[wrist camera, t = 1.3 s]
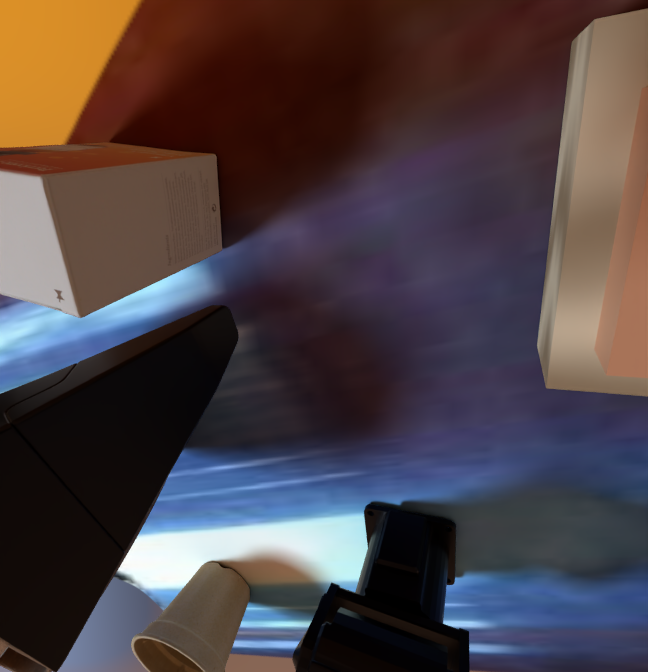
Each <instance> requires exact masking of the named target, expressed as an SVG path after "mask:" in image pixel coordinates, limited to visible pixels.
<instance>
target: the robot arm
mask: <svg viewBox="0 0 648 672" xmlns="http://www.w3.org/2000/svg"><path fill="white" fill-rule="evenodd" d="M237 342H238V330H237V328H236V325H235V322H234V320H233V317H232V314H231V311H230V309H229V308H228V307H226V306H223V305H212V306H209V307H207V308H204V309H202V310H200V311H197V312H195V313H193V314H190V315H188V316H186V317H183V318H181V319H178V320H176V321H174V322H171V323H169V324H167V325H164V326H162V327H160V328H157V329H155V330H153V331H150V332H148V333H146V334H143V335H141V336H139V337H136V338H134V339H132V340H129V341H127V342H125V343H122V344H120V345H118V346H115V347H113V348H110V349H108V350H106V351H103V352H101V353H99V354H96V355H94V356H92V357H89V358H87V359H85V360H82V361H80V362H79V363H78V364H73V365H70V366H68V367H66V368H63V369H61V370H59V371H56V372H54V373H51V374H49V375H47V376H44V377H42V378H39V379H37V380H34V381H32V382H29V383H27V384H24V385H22V386H19V387H17V388H14V389H12V390H9V391H6V392H4V393H1V394H0V657H1V656H2V655H3V654H4V652H5V651H6V650H7V648H8V647H9V648H11V649H13V650H15V651H16V652H18V653H20V654H22V655H24V656H26V657H28V658H29V659H31V660H33V661H35V662H37V663H39V664H40V665H42V666H44V667H46V668H48V669H50V670H51V671H53V672H57V671H58V669H59V668H60V667H61V665H62V664H63V662H64V661H65V659H66V657H67V656H68V654H69V652H70V650H71V649H72V647H73V645H74V643H75V641H76V640H77V638H78V636H79V634H80V633H81V631H82V629H83V627H84V625H85V624H86V622H87V620H88V618H89V616H90V615H91V613H92V611H93V609H94V608H95V606H96V604H97V602H98V600H99V599H100V597H101V595H102V593H103V592H104V590H105V588H106V586H107V585H108V583H109V581H110V579H111V577H112V576H113V574H114V572H115V570H116V568H117V567H118V565H119V563H120V561H121V560H122V558H123V556H124V554H125V552H124V551H126V550H127V548H128V546H129V545H130V543H131V541H132V539H133V538H134V536H135V534H136V532H137V530H138V529H139V527H140V525H141V523H142V522H143V520H144V518H145V516H146V514H147V513H148V511H149V509H150V507H151V506H152V504H153V502H154V500H155V498H156V497H157V495H158V493H159V491H160V490H161V488H162V486H163V484H164V482H165V481H166V479H167V477H168V475H169V474H170V472H171V470H172V468H173V466H174V465H175V463H176V461H177V459H178V457H179V456H180V454H181V452H182V450H183V449H184V447H185V445H186V443H187V441H188V440H189V438H190V436H191V434H192V433H193V431H194V429H195V427H196V425H197V424H198V422H199V420H200V418H201V417H202V415H203V413H204V411H205V409H206V408H207V406H208V404H209V402H210V401H211V399H212V397H213V395H214V393H215V391H216V389H217V387H218V385H219V383H220V381H221V379H222V376H223V374H224V372H225V369H226V367H227V365H228V363H229V360H230V358H231V356H232V353H233V351H234V349H235V346H236V344H237ZM364 516H365V525H366V534H367V543H368V550H367V554H366V557H365V561H364V564H363V568H362V571H361V575H360V578H359V582H358V585H357V589H356V592H352V591H349V590H346V589H343V588H341V587H339V585H337V584H334V583H331V585H330V587H329V589H328V592H327V594H326V593H325V594H324V596H322V598H321V601H320V604H319V607H318V609H317V611H316V613H315V615H314V618H313V620H312V622H311V624H310V626H309V628H308V630H307V631H306V633H305V635H304V636H303V638H302V639H301V641H300V642H299V644H298V646H297V647H296V649H295V651H294V654H293V659H292V660H293V663H294V666H295V669H296V672H469V631H467V630H464V629H461V628H459V629H456V628H453V627H451V626H448V625H445V624H443V617H444V606H445V596H446V585H453V584H454V582H455V550H456V524H455V523H454V522H453V521H451V520H448V519H443V518H438V517H432V516H427V515H422V514H417V513H412V512H407V511H402V510H397V509H392V508H387V507H382V506H377V505H372V504H368V505H366V507H365V510H364Z"/></svg>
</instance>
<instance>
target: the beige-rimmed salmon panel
mask: <svg viewBox="0 0 648 672" xmlns="http://www.w3.org/2000/svg"><path fill="white" fill-rule="evenodd" d="M594 350H595V352H596V354H597V356H598V359H599V361H600V363H601V365H602V367H603V369H604V372H605V374H606V375H608V376H623V377H638V378H648V87H645V88H642V91H641V96H640V102H639V107H638V113H637V118H636V124H635V129H634V135H633V140H632V146H631V151H630V156H629V162H628V167H627V173H626V178H625V184H624V189H623V195H622V200H621V206H620V211H619V217H618V222H617V228H616V233H615V238H614V244H613V249H612V255H611V260H610V266H609V271H608V277H607V282H606V288H605V293H604V299H603V304H602V310H601V315H600V320H599V326H598V331H597V337H596V342H595V348H594Z"/></svg>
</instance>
